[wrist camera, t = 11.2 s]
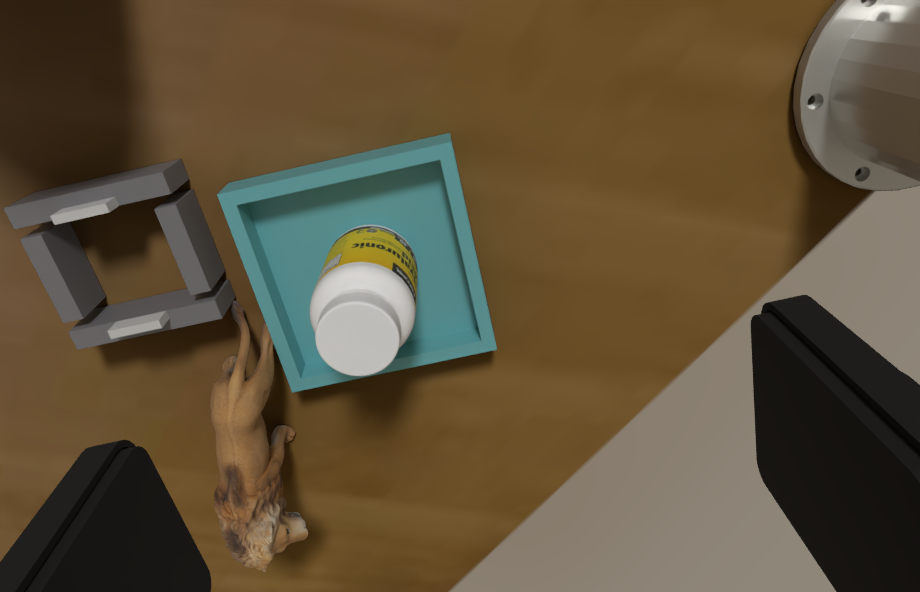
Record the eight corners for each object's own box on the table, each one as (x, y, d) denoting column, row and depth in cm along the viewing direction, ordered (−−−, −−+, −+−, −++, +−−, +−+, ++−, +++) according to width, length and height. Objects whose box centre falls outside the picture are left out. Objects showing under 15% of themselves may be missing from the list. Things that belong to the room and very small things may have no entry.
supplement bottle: (435, 255, 41) (438, 331, 32) (383, 320, 42) (371, 409, 33) (360, 203, 39) (341, 267, 30) (309, 272, 41) (276, 352, 32)
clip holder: (181, 158, 38) (153, 178, 34) (235, 296, 42) (216, 328, 38) (33, 192, 38) (-10, 215, 35) (100, 326, 42) (67, 360, 38)
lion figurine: (326, 477, 48) (306, 578, 40) (252, 487, 48) (217, 590, 40) (274, 290, 42) (237, 365, 34) (189, 303, 42) (132, 380, 34)
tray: (450, 132, 38) (451, 141, 36) (493, 331, 44) (496, 349, 41) (228, 182, 39) (217, 194, 37) (298, 372, 44) (292, 392, 42)
